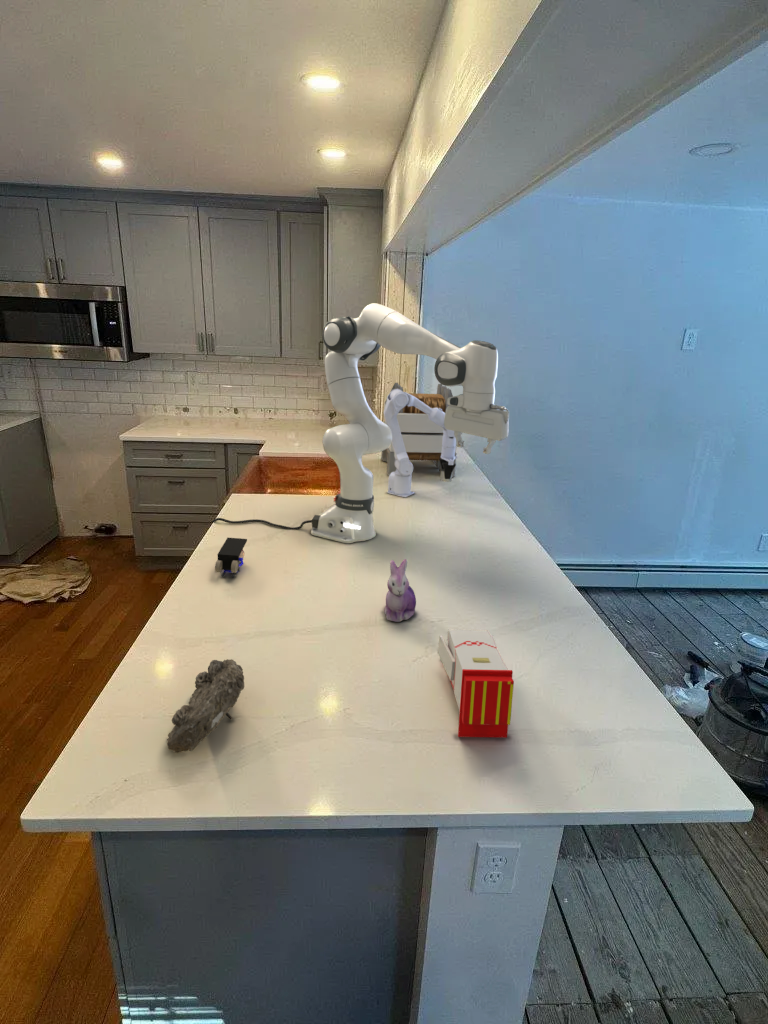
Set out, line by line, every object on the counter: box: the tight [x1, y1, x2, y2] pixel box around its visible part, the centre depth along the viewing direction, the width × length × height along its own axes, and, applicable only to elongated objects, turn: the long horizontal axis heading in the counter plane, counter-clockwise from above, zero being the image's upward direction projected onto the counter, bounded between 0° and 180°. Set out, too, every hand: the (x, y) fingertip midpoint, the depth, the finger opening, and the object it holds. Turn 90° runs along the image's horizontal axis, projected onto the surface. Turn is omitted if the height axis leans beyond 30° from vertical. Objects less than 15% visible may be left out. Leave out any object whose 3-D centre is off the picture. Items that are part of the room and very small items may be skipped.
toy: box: [437, 628, 515, 738], centre depth 117 cm, size 12×13×30 cm
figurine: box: [384, 558, 417, 623], centre depth 145 cm, size 9×10×15 cm
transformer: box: [381, 382, 457, 478], centre depth 277 cm, size 34×33×41 cm
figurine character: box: [214, 537, 248, 578], centre depth 166 cm, size 7×8×15 cm
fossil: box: [166, 658, 245, 754], centre depth 106 cm, size 22×10×15 cm
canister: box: [439, 469, 453, 483], centre depth 244 cm, size 5×5×4 cm
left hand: (473, 450), depth 163 cm, fingers open, 8 cm apart
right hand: (446, 477), depth 244 cm, fingers closed on canister, 5 cm apart
